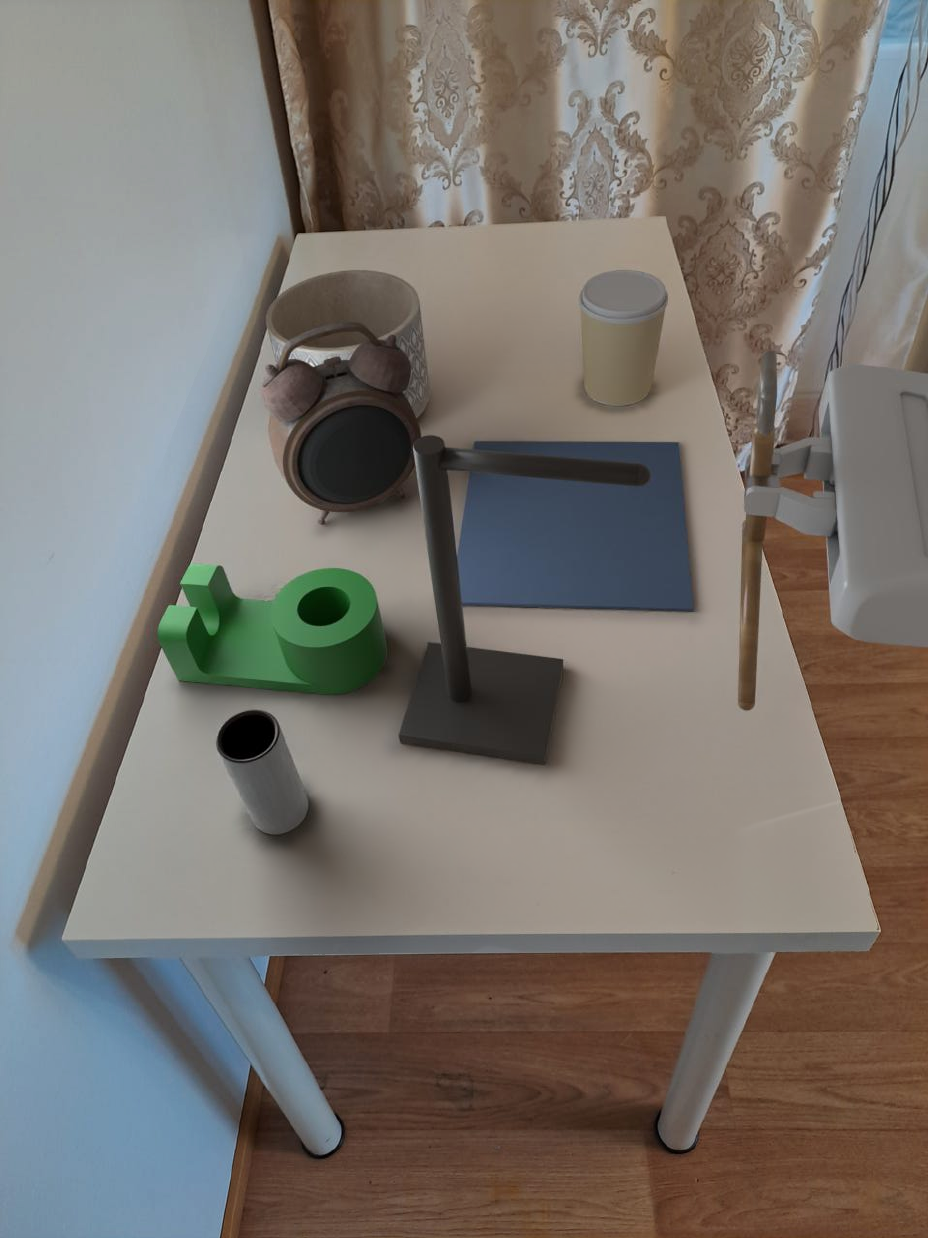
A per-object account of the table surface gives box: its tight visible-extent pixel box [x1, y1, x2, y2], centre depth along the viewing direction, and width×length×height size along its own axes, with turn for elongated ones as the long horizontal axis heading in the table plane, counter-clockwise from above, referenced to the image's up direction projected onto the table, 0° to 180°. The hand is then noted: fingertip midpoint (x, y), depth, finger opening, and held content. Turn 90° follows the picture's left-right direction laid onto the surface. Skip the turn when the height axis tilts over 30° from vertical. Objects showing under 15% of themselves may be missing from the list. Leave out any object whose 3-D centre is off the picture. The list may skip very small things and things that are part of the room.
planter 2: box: [265, 269, 431, 420], centre depth 101 cm, size 16×16×13 cm
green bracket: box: [157, 563, 388, 696], centre depth 79 cm, size 18×9×6 cm, turn 80°
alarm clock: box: [260, 322, 422, 525], centre depth 87 cm, size 14×7×20 cm, turn 112°
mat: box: [457, 440, 694, 612], centre depth 90 cm, size 22×24×1 cm
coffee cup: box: [578, 269, 669, 407], centre depth 100 cm, size 9×9×12 cm
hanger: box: [737, 350, 778, 712], centre depth 54 cm, size 1×17×19 cm, turn 168°
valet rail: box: [398, 434, 650, 765], centre depth 65 cm, size 18×10×27 cm, turn 77°
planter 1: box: [215, 709, 309, 835], centre depth 67 cm, size 4×4×10 cm
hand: (745, 480), depth 53 cm, fingers closed on hanger, 1 cm apart
